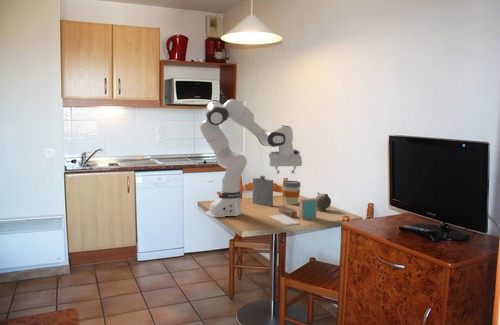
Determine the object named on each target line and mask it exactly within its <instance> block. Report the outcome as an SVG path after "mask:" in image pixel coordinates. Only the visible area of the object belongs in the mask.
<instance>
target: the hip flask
mask: <svg viewBox="0 0 500 325" xmlns="http://www.w3.org/2000/svg"><path fill="white" fill-rule="evenodd" d="M265 178H266V175H260V176H259V177H253V178H252V204H254V203H256V204H255V205H259V204H260V206H268V207H273V205H274V179H267V178H266V179H265Z"/></svg>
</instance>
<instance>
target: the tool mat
mask: <svg viewBox="0 0 500 325" xmlns="http://www.w3.org/2000/svg"><path fill="white" fill-rule="evenodd" d="M269 218H271V219H273V220H275V221H277V222H278V223H279V224H280V223H281V224H282V225H284V226H294V225H295V226H296V225H300V222H299V221H297V220H294V218H291V217H289V216H287V215H285V214H274V215H269Z"/></svg>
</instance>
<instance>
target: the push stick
mask: <svg viewBox="0 0 500 325" xmlns="http://www.w3.org/2000/svg"><path fill="white" fill-rule="evenodd" d="M278 212H279V213H281V214H282V215H285V216H287V217H289V218H291V219H295V218H298V211H297V210H294V209H292V208H290V207H288V206H286V205H283V204H282V205H278Z"/></svg>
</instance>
